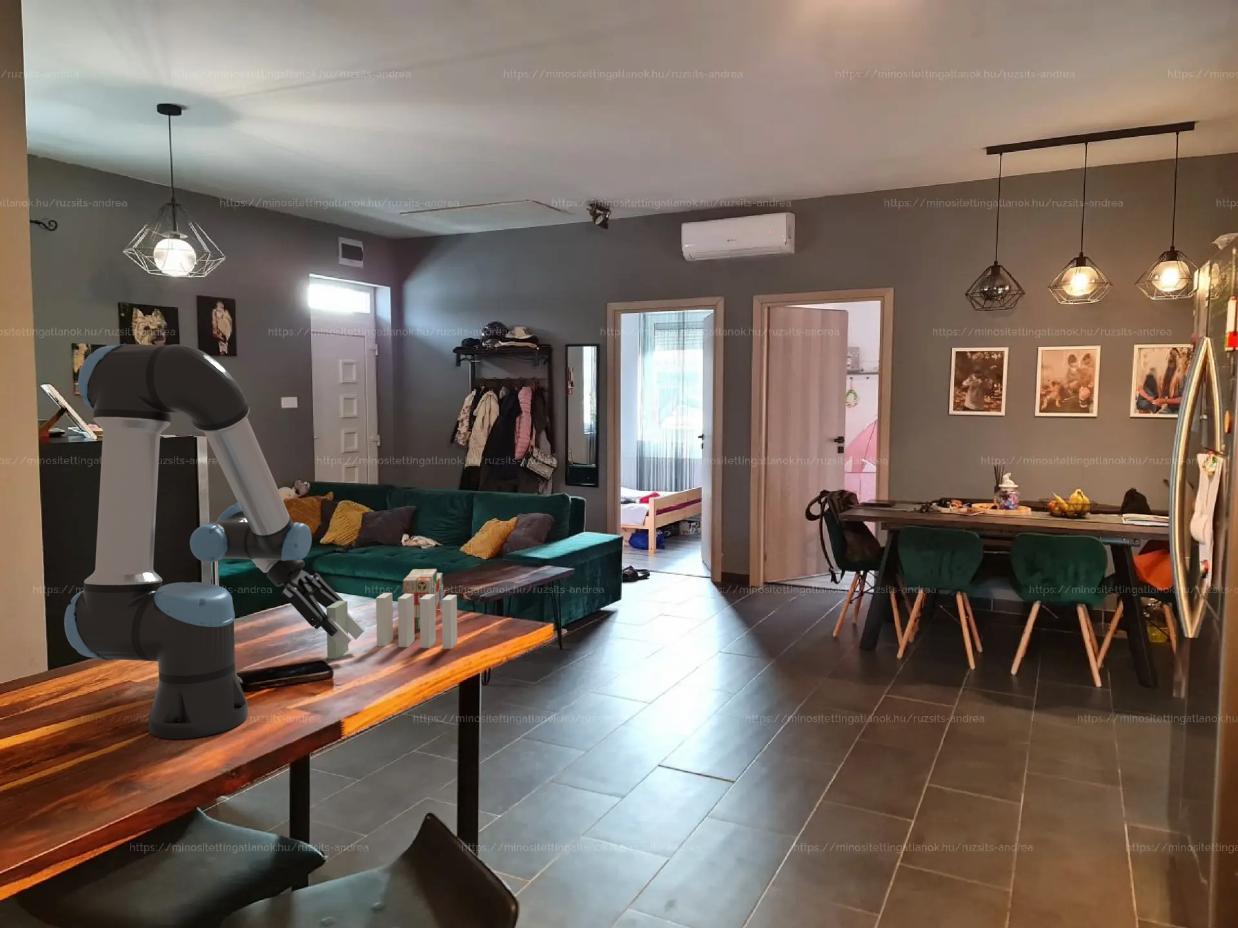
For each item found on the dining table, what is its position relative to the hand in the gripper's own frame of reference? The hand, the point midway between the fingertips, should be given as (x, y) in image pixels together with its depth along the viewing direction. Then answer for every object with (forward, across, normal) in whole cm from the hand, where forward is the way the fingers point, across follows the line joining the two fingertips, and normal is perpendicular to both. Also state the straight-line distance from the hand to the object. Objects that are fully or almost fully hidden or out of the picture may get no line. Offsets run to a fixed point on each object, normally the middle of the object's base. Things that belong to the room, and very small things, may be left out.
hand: (353, 639), depth 180 cm
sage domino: (0, 0, -5) cm, 5 cm away
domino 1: (+5, -9, 0) cm, 10 cm away
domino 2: (+8, -9, +4) cm, 13 cm away
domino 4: (+15, -9, +11) cm, 21 cm away
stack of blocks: (+6, -31, +1) cm, 32 cm away
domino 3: (+12, -9, +7) cm, 16 cm away
